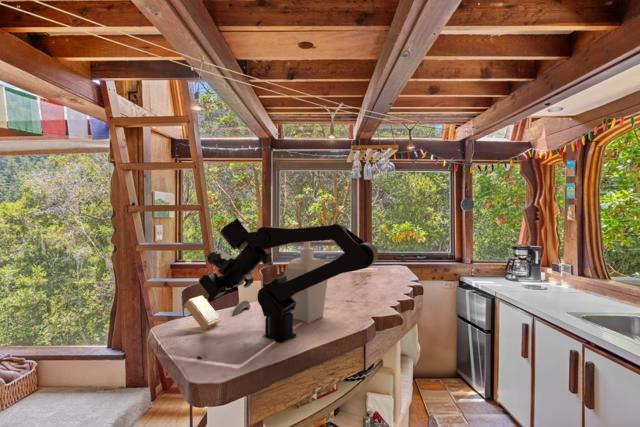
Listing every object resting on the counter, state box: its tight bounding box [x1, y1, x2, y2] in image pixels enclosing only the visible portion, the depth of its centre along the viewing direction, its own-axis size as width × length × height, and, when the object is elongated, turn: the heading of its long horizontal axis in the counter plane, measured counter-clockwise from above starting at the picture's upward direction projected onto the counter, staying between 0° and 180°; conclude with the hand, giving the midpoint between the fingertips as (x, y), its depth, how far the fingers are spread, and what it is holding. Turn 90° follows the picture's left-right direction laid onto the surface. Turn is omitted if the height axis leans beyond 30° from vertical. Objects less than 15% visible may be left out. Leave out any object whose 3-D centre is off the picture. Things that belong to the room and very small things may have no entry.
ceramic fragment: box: [229, 300, 251, 317], centre depth 120 cm, size 14×5×4 cm, turn 168°
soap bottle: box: [283, 241, 329, 324], centre depth 114 cm, size 12×10×26 cm
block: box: [183, 295, 222, 330], centre depth 102 cm, size 2×6×9 cm
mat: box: [172, 319, 230, 334], centre depth 102 cm, size 12×9×1 cm
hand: (209, 300), depth 102 cm, fingers closed
